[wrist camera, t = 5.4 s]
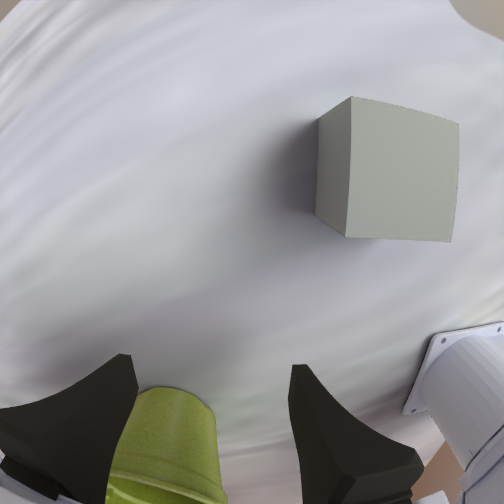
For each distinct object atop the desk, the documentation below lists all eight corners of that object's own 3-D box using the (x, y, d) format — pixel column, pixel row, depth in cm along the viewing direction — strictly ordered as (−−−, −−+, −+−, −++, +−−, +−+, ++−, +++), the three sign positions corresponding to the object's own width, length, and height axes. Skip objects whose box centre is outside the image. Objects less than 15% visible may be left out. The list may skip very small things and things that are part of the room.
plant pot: (232, 455, 20) (229, 541, 12) (124, 435, 19) (95, 513, 11) (246, 378, 17) (246, 496, 9) (106, 354, 17) (49, 448, 9)
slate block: (403, 132, 13) (458, 123, 9) (398, 220, 15) (450, 242, 10) (317, 118, 13) (351, 96, 8) (314, 214, 15) (345, 237, 10)
